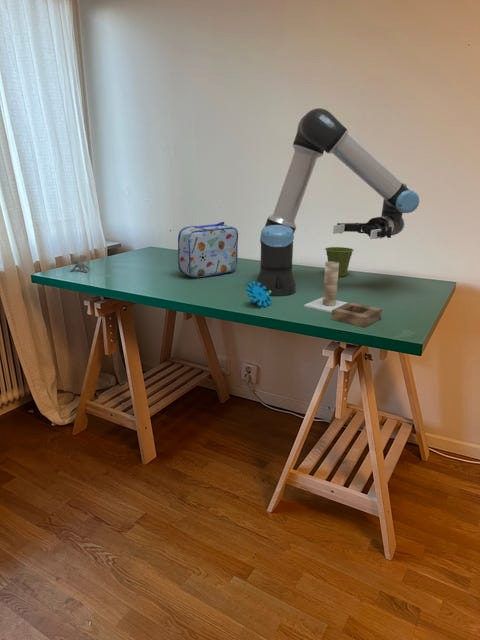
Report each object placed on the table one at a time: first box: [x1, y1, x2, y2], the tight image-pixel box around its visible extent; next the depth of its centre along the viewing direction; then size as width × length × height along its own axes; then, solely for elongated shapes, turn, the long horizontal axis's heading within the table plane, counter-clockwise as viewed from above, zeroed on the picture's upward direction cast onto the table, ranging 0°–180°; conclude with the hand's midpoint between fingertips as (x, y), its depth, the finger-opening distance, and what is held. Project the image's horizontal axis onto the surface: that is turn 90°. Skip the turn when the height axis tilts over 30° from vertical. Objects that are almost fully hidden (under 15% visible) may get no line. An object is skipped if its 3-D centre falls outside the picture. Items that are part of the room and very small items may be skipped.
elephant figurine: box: [70, 255, 91, 274], centre depth 196 cm, size 10×6×9 cm
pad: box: [303, 296, 348, 314], centre depth 150 cm, size 12×12×1 cm
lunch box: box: [177, 221, 239, 278], centre depth 190 cm, size 28×10×22 cm, turn 129°
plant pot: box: [324, 246, 354, 278], centre depth 191 cm, size 12×12×11 cm
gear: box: [245, 281, 273, 308], centre depth 152 cm, size 11×6×10 cm
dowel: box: [322, 261, 339, 306], centre depth 148 cm, size 4×4×14 cm
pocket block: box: [330, 301, 383, 328], centre depth 137 cm, size 11×11×3 cm
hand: (352, 232), depth 149 cm, fingers open, 13 cm apart
